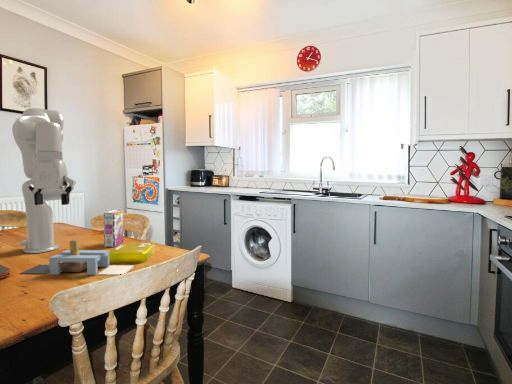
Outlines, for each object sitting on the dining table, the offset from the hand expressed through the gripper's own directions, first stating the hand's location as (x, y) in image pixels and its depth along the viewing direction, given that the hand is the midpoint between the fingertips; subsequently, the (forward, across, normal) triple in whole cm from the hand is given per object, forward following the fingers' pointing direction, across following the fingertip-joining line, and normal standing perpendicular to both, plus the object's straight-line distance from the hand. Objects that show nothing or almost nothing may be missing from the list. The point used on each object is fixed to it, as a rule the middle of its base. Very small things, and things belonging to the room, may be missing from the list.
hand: (52, 204), depth 104 cm
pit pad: (+24, -4, -1) cm, 24 cm away
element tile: (+24, +22, +15) cm, 36 cm away
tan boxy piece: (+24, +8, -1) cm, 25 cm away
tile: (+24, +23, -1) cm, 33 cm away
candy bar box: (+23, +4, +34) cm, 42 cm away
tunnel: (+24, +10, -1) cm, 26 cm away
